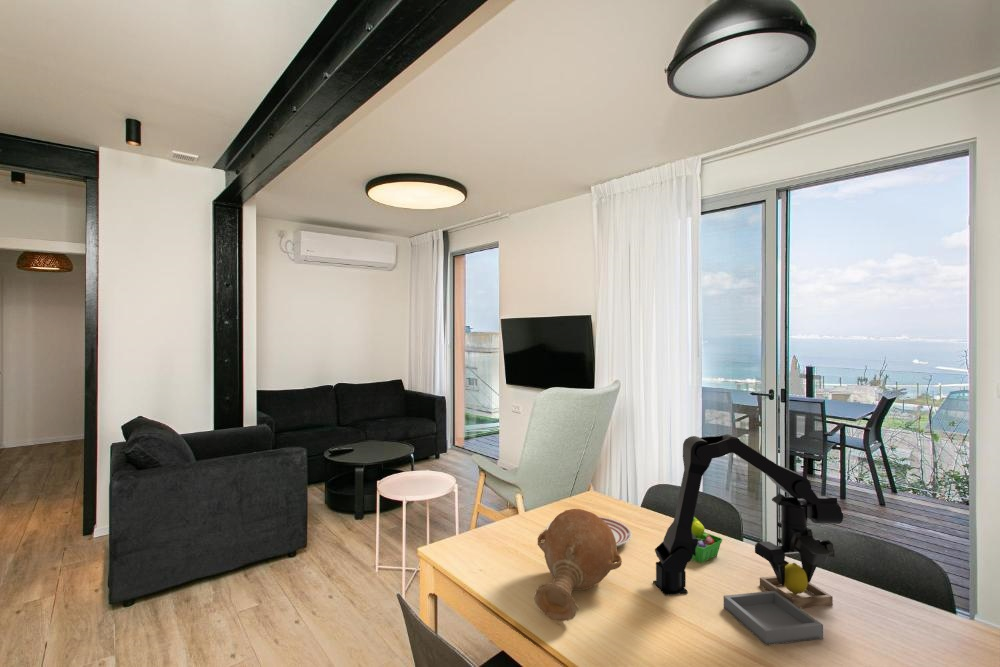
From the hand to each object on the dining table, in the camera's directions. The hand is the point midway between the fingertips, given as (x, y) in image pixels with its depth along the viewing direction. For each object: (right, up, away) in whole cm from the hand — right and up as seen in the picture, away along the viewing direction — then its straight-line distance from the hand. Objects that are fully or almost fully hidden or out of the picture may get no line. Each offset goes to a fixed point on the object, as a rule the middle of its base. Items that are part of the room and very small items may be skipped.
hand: (794, 583), depth 118 cm
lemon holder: (0, -3, 0) cm, 3 cm away
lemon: (0, -3, 0) cm, 3 cm away
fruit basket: (-15, -4, +22) cm, 27 cm away
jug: (-57, -3, +1) cm, 58 cm away
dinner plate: (-46, -4, +33) cm, 57 cm away
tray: (-13, -3, -12) cm, 18 cm away
